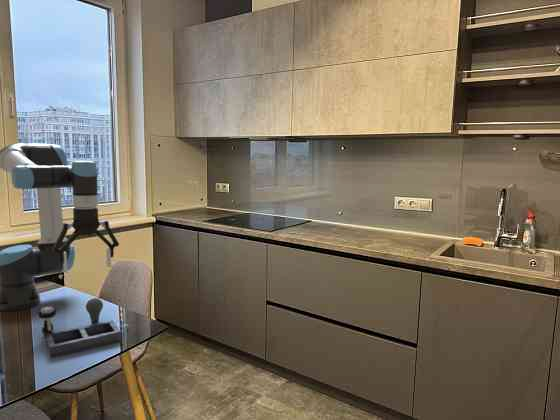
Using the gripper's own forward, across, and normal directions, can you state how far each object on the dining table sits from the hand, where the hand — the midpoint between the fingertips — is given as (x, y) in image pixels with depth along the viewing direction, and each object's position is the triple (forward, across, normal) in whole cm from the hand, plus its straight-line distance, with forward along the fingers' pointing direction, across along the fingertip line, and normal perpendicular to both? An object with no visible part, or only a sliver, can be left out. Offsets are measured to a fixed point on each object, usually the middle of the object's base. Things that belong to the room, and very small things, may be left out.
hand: (87, 269), depth 138 cm
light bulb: (+22, +2, +4) cm, 23 cm away
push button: (+22, -12, +2) cm, 26 cm away
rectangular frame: (+22, -3, -9) cm, 24 cm away
